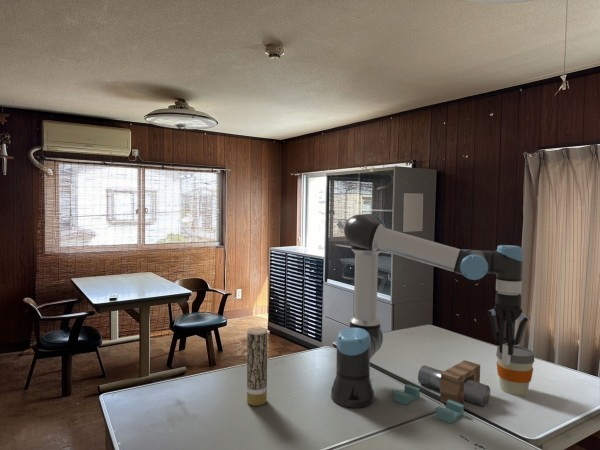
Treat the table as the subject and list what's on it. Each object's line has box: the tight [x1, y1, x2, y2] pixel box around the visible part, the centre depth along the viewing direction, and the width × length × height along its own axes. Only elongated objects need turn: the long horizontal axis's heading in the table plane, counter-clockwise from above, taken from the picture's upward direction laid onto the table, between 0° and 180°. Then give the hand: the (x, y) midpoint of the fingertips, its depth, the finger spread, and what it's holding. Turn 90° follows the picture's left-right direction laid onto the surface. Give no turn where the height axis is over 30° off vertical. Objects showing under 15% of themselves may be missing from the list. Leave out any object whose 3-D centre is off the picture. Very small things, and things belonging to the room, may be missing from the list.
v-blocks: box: [392, 384, 465, 424], centre depth 138 cm, size 9×21×3 cm, turn 43°
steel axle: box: [417, 364, 491, 407], centre depth 148 cm, size 24×7×7 cm, turn 43°
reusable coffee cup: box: [495, 345, 535, 397], centre depth 151 cm, size 13×13×15 cm
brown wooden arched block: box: [439, 360, 481, 405], centre depth 145 cm, size 18×6×10 cm, turn 133°
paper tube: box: [246, 326, 268, 407], centre depth 139 cm, size 7×7×25 cm
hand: (506, 363), depth 134 cm, fingers closed
